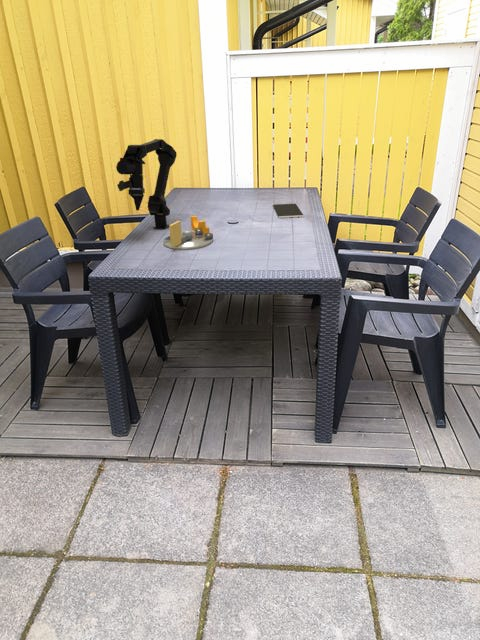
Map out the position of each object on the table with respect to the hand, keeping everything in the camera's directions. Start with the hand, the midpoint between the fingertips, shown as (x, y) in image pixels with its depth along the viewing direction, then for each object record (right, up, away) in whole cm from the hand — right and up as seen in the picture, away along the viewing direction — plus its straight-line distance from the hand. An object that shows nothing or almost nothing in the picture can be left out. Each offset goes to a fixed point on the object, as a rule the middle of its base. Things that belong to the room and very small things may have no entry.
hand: (137, 210), depth 218 cm
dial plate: (+23, -15, -3) cm, 28 cm away
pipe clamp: (+28, -8, +11) cm, 31 cm away
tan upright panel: (+21, -16, -9) cm, 28 cm away
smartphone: (+72, +8, +40) cm, 83 cm away
